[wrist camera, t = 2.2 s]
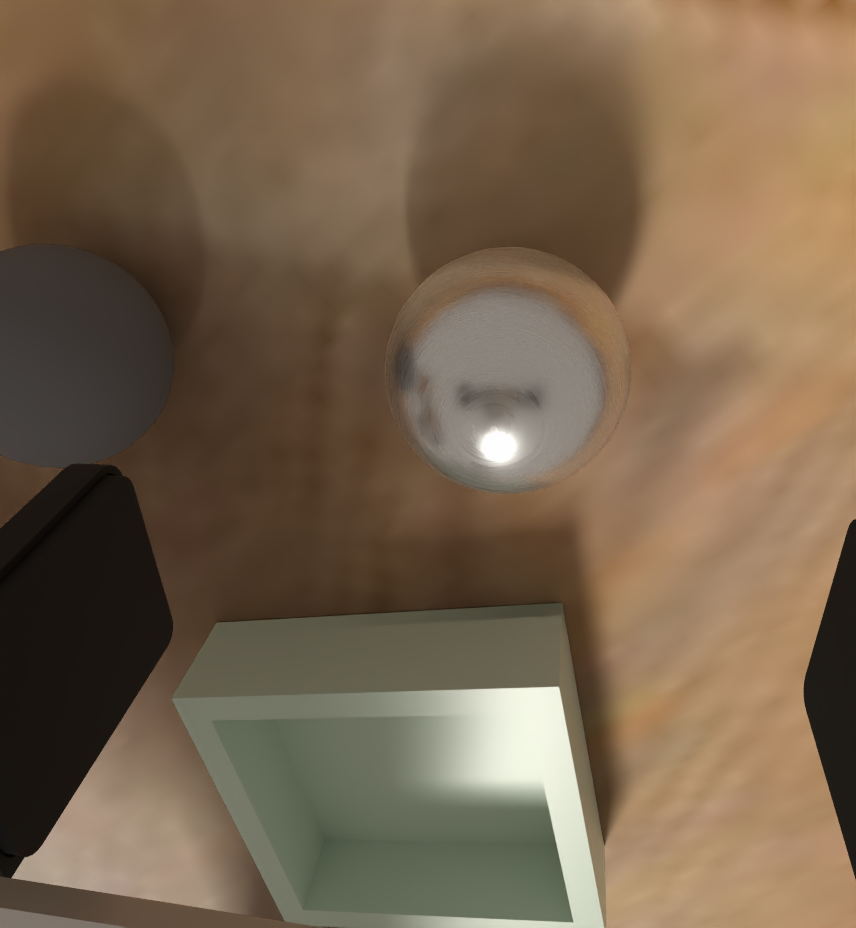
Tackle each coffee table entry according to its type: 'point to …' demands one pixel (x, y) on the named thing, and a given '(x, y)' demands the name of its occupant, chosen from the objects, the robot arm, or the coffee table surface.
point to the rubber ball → (77, 357)
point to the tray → (405, 766)
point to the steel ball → (507, 370)
